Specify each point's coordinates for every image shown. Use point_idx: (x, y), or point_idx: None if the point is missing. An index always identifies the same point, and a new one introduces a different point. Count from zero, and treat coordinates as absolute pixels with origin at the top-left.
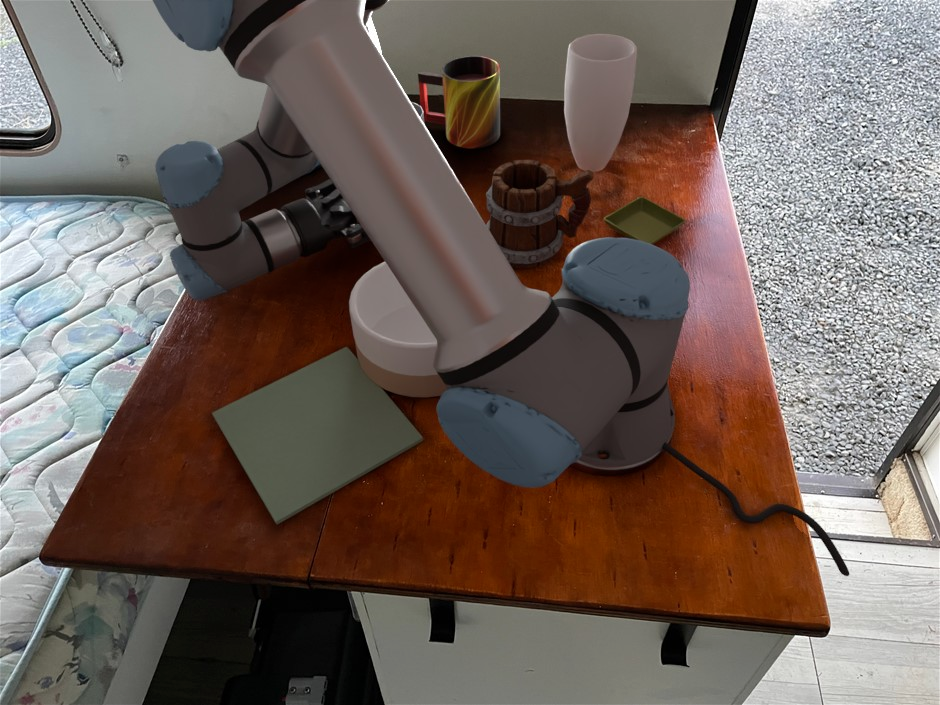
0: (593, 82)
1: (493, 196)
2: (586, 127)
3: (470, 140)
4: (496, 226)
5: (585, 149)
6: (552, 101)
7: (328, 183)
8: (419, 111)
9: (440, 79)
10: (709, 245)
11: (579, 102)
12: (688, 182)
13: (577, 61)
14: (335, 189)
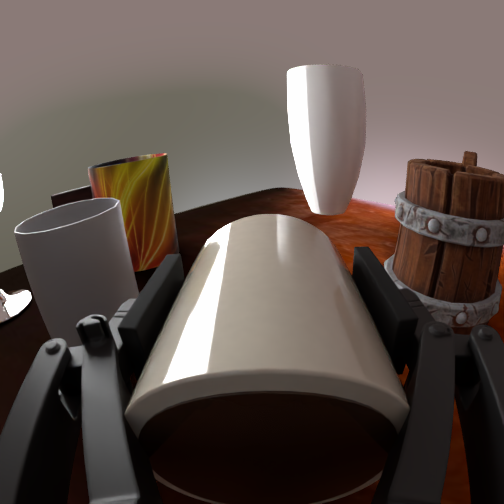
0: (356, 90)
1: (473, 209)
2: (354, 147)
3: (158, 252)
4: (480, 267)
5: (349, 179)
6: (177, 213)
7: (8, 479)
8: (95, 210)
9: (84, 191)
10: None
11: (345, 116)
12: (370, 208)
13: (334, 69)
14: (48, 483)
